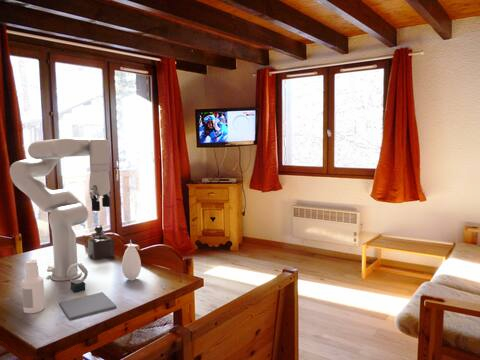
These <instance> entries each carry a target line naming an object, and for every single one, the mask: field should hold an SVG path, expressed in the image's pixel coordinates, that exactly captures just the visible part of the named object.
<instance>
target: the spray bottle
mask: <svg viewBox="0 0 480 360" xmlns="http://www.w3.org/2000/svg"><path fill="white" fill-rule="evenodd" d="M25 263H26V264H25V265H26V266H25V278H24V279H23V280H22V281H21V288H22V292H21V293H22V305H23V308H22V309H23V312H24V313H25V314H37V313H40V312H41V311H43V310H44V309H45V308H46V304H45V287H44V286H45V285H44V277H42V276H40V275H39V265H38V260H37V259H30V260H27V261H25Z"/></svg>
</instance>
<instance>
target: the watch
mask: <svg viewBox="0 0 480 360" xmlns="http://www.w3.org/2000/svg"><path fill="white" fill-rule="evenodd" d="M76 265H77V267H78V268H79V270H80V271H81V273H83V274H84V275H83V277H82V278H81V279H76V280H74V279H71V277H70V275H69V271H70V269H71V268H72V267H74V266H76ZM71 266H72V267H71ZM88 273H89V271H88V269H87V268H86V267H85V266H84V265H83V263H81V262H80V263H79V262H77V263H74V264H72V265H70V266H69V268H68V269H67V274H66V275H67V277H68V279H69V280H68V281H70V282H69V283H70V285H69V287H70V290H71V292H73V293H74V294H77V293H81V292H85V291H86V290H87V289H86V283H85V281H86V279H87V277H88V275H89V274H88Z"/></svg>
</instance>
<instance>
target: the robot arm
mask: <svg viewBox="0 0 480 360" xmlns="http://www.w3.org/2000/svg"><path fill="white" fill-rule="evenodd" d="M27 148H28V149H27V152H28V155H29V156H30V157H31V158H32V159H31V158H30V159H29V158H28V159H27V158H26V159H21V160H17V161H15V162H13V163H12V164H11V165H10V167H9V175H10V179H11V181H12V183H13V184H14V186H15V187H17V189H19V190H20V191H21V192H23V193H24V194H25V196H27V197H28V199H30V200H31V201H32V202H33V203H34V204H35V205H36V207H38V208H39V209H40V210H41V211H42V212H45V213H49V216H48V221H49V225H50V229H51V235H52V248H53V249H52V250H53V251H52V253H53V254H52V255H53V265H49V266H48V267H47V269H46V272H48V273H49V272H50V273H51V274H50V279H51V280H53V281H58V282H62V281H63V282H64V281H70V280H69V279H68V277H67V275H66V274H67V269H68V268H69V266H70V265H72V264H74V263H78V253H77V252H78V251H77V250H78V249H77V235H76V233H75V231H74V229H73V228H72V227H74V226H77V225H82V224H83V223H85V222H86V221H87V220H89V219H88V218H89V211H88V209H87V207H86V205H85V204H84V203H83V202H82V201H81V200H79V199H78V197H76V195H74V193H72V192H71V191H70V190H67V189H63V188H61V189H54V190H53V189H50V188H49V187H47V186H46V185H45V184H44V183H43V182H42V181H40V180H38V179H36V178H42V177H45V176H48V175H50V173H51V172H52V171H53V169H54V168H55V166H56V165H57V164H58V162H59V161H60V159H64V158H65V157H66V158H69V157H84V156H85V157H87V156H89V172H90V174H89V184H88V185H89V186H88V187H89V189H88V191H89V198H90V201H91V211H93V212H100V211H101V206H102V207H104V208H109V207H111V185H110V184H111V181H110V175H109V172H110V151H109V140H108V139H107V138H101V137H99V138H97V137H96V138H91V137H67V138H57V139H56V138H55V139H45V140H36V141H33V142H32V143H30V145H29V146H28V147H27ZM100 197H102V198H101V201H102V202H101V203H100ZM101 204H102V205H101ZM71 267H72V266H71ZM78 268H79V267H78V265H76V266H74V267H72V268H71V269H70V271H69V275H70V277H71V279H72V280H75V279H77V278H79V277H81V276H82V273H83V272H82V271H81V269H78Z"/></svg>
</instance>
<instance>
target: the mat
mask: <svg viewBox="0 0 480 360" xmlns="http://www.w3.org/2000/svg"><path fill="white" fill-rule="evenodd" d="M58 304H59V307H61V309H62V311H63V312H64V313H65V315H66V316H67V318H68V320H74V319H79V318H83V317H85V316H87V317H88V316H89V315H90V316H91V315H94V314H97V313H101V312H106V311H109V310H113V309H117V305H116V304H115V303H114V301H112V300H111V299H110V298H109V297H108V296H107V295H106V294H105V293H104V292H103V291H101V292H97V293H92V294H88V295H83V296H80V297H75V298H70V299H67V300H62V301H58Z"/></svg>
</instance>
